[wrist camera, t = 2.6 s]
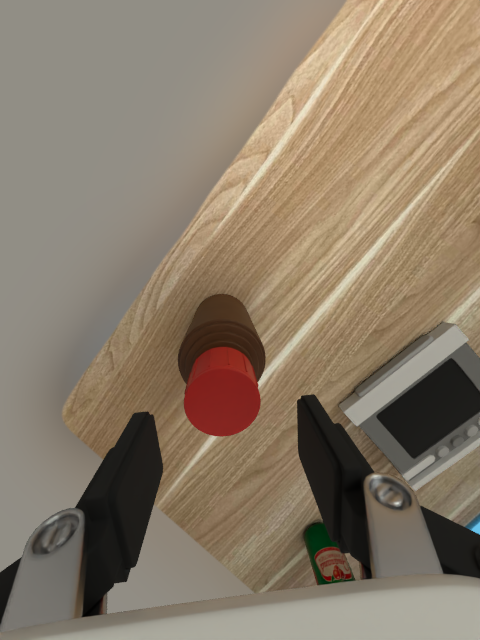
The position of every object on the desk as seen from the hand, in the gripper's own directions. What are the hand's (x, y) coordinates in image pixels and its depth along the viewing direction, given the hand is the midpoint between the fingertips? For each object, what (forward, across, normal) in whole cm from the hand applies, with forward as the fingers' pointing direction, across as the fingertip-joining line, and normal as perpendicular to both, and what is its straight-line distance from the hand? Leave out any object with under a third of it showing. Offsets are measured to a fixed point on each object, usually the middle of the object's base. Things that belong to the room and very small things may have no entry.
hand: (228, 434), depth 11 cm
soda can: (+20, -12, +36) cm, 43 cm away
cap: (+5, 0, 0) cm, 6 cm away
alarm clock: (+20, -26, +14) cm, 35 cm away
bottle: (+20, 0, 0) cm, 20 cm away
